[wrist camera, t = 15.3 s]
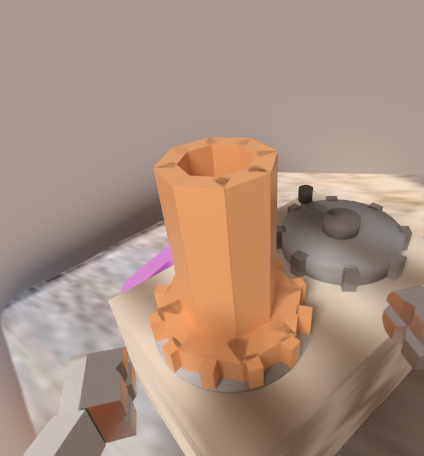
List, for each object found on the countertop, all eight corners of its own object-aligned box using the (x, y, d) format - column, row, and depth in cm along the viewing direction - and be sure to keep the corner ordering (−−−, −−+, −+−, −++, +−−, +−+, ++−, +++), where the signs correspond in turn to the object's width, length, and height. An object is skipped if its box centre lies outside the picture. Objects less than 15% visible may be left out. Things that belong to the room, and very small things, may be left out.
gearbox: (305, 271, 37) (315, 148, 29) (429, 350, 28) (492, 206, 20) (140, 384, 28) (90, 253, 20) (246, 552, 20) (231, 436, 11)
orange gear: (314, 274, 23) (330, 123, 17) (303, 410, 16) (324, 231, 10) (185, 258, 25) (160, 122, 19) (127, 369, 18) (61, 208, 12)
